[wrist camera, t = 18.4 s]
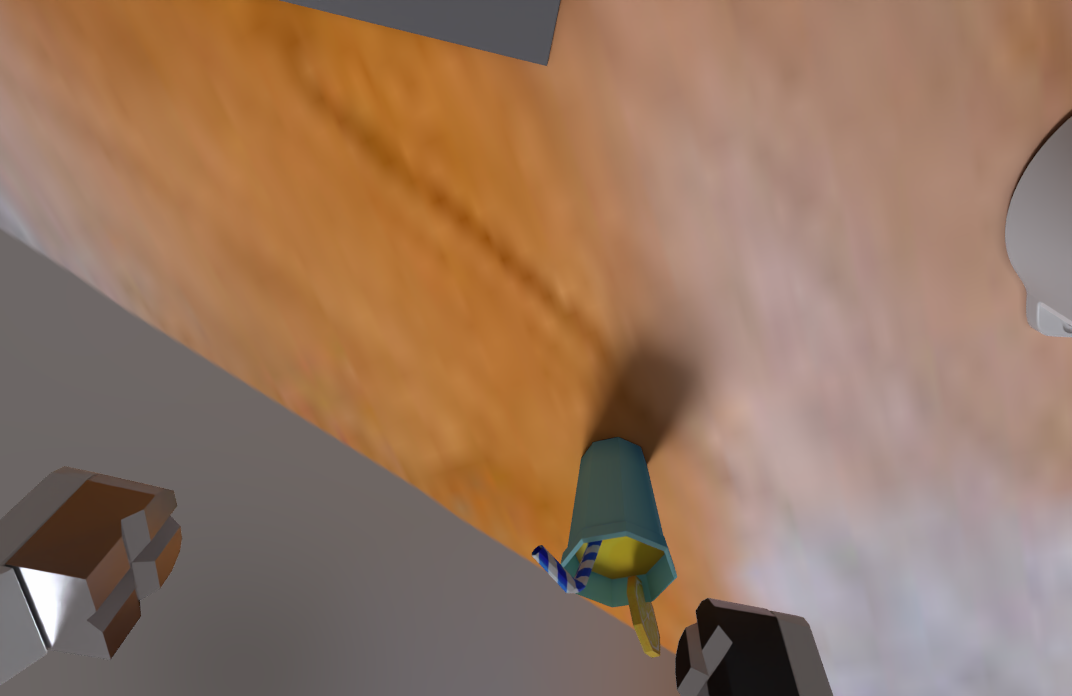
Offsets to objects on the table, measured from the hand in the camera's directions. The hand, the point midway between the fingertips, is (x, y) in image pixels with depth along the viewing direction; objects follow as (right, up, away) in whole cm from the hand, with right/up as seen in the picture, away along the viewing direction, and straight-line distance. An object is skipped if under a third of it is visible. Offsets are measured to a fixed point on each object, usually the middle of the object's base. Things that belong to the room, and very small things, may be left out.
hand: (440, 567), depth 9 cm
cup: (+7, -5, +40) cm, 41 cm away
